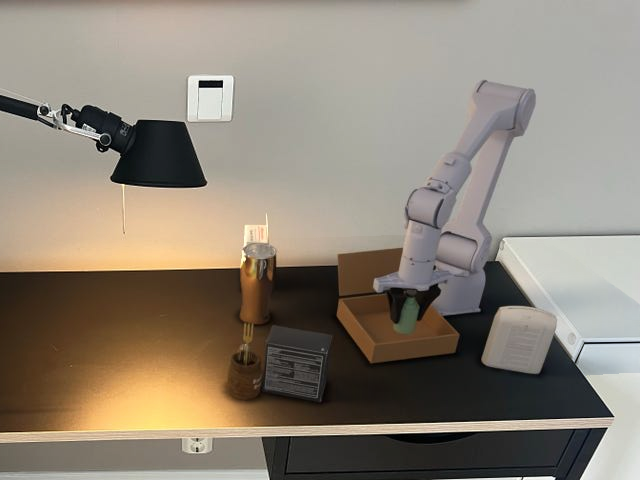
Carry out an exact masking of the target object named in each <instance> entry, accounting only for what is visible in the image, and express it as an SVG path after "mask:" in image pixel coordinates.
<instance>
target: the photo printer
mask: <svg viewBox="0 0 640 480" xmlns="http://www.w3.org/2000/svg"><path fill="white" fill-rule="evenodd" d="M557 321H558V319H557V315H556V314H554V313H552V312H550V311H547V310H544V309H542V308H537V307H533V306H525V305H505V306H500V307H498V310H497V312H496V313H495V315H494V317H493V320H492V323H491V327H490V329H489V333H488V336H487V340H486V343H485V346H484V349H483V352H482V355H481V363H482V364H483V365H485V366H486V367H490V368H495V369H500V370H507V371H513V372H519V373H525V374H532V375H533V374H534V375H538V374H540V373H541V371H542V368H543V366H544V363H545V360H546V357H547V355H548V353H549V349H550V346H551V344H552V341H553V338H554V336H555V333H556V330H557V325H558V324H557Z"/></svg>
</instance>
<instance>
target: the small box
mask: <svg viewBox="0 0 640 480" xmlns="http://www.w3.org/2000/svg"><path fill="white" fill-rule="evenodd" d="M332 339H333V334H328V333H321V332H315V331H308V330H303V329H298V328H291V327H285V326H279V325H272V327H271V329H270V331H269V334H268V335H267V338H266V341H265V354H264V355H265V356H264V366H263V367H264V368H263V377H262V379H263V380H262V386H261V391H262V392H264V393H268V394H273V395H279V396H283V397H289V398H293V399H298V400H299V399H300V400H305V401H310V402H314V403H321V402H322V401H323V395H324V391H325V389H326V385H327V377H328V372H329V371H328V369H329V362H330V355H331V348H332V341H333V340H332Z"/></svg>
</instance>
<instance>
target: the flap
mask: <svg viewBox="0 0 640 480" xmlns="http://www.w3.org/2000/svg"><path fill="white" fill-rule="evenodd" d="M402 252H403V247H395V248H394V247H393V248H385V249H376V250H375V249H374V250H367V251H365V250H364V251H357V252H346V253H338V254H337V272H338V273H337V274H338V294H339V297H342V296H344V297H345V296H350V295H351V296H353V295H361V294H370V293H371V294H372V293H377V291H376V290H375V289H374V288H373V285H374V279H375V278H380V277H384V276H387V275H389V274H392V273H395V272H398V271H399V267H400V262H401V257H402ZM403 290H408V288H403ZM383 292H385V290H383Z"/></svg>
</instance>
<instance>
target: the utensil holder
mask: <svg viewBox="0 0 640 480" xmlns="http://www.w3.org/2000/svg"><path fill="white" fill-rule="evenodd" d="M250 328H251V329H250ZM246 333H247V335H246ZM253 335H254V325H253V324H248V323H245V322H244V326H243V336H242V337H243V338H242V340H243V341H244V342H245V344H241V345H240V347H239V348H238V349H237V351H236V352H234V353H233V354H232V355H231V357H230V364H229V365H228V369H227V380H226V381H227V384H226V386H227V387H226V388H227V392H228V394H229V395H230V396H231V397H232V398H234V399H237V400H240V401H241V400H243V401H246V400H253V399H255V398H257V397H258V396H259V394H260V392H261V390H262V382H263V380H262V379H263V369H262V360H261V357H260V355H259V354H258V353H256V352H255V351H253V350H250V349H251V346H249V343H251V342H252V341H253V337H254V336H253ZM243 348H244V350H243Z"/></svg>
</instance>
